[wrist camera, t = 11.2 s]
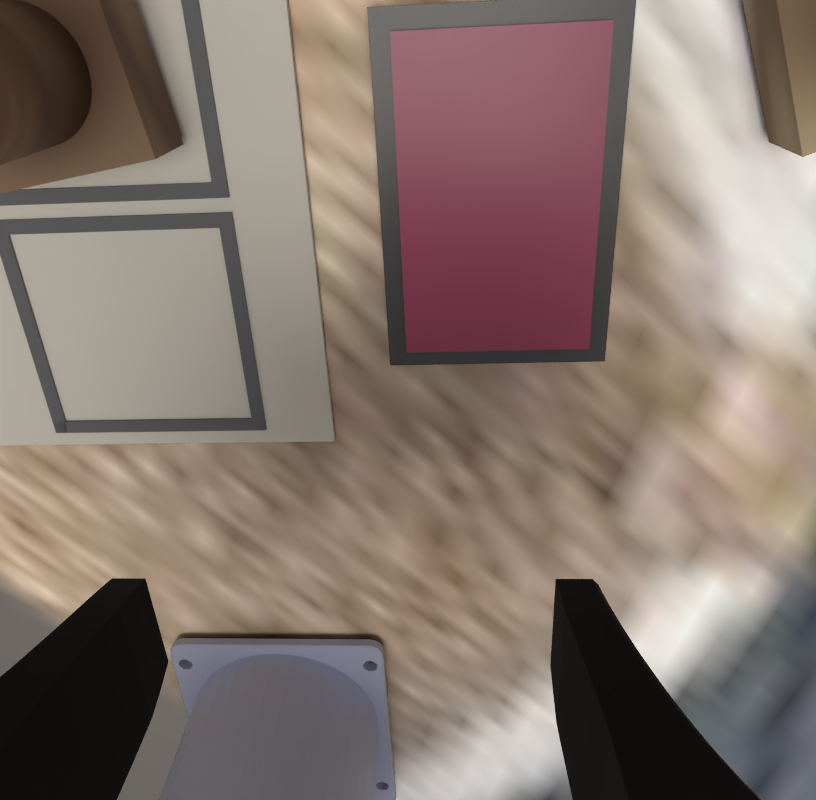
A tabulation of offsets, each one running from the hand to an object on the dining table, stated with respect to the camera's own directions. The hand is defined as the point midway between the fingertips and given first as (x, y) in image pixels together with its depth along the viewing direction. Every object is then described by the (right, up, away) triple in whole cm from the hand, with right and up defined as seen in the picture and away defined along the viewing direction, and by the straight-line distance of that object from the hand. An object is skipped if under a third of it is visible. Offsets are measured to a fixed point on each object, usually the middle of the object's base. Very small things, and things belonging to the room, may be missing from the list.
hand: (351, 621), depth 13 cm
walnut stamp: (-7, +12, +5) cm, 15 cm away
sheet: (-7, +9, +7) cm, 14 cm away
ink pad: (+3, +9, +7) cm, 12 cm away
